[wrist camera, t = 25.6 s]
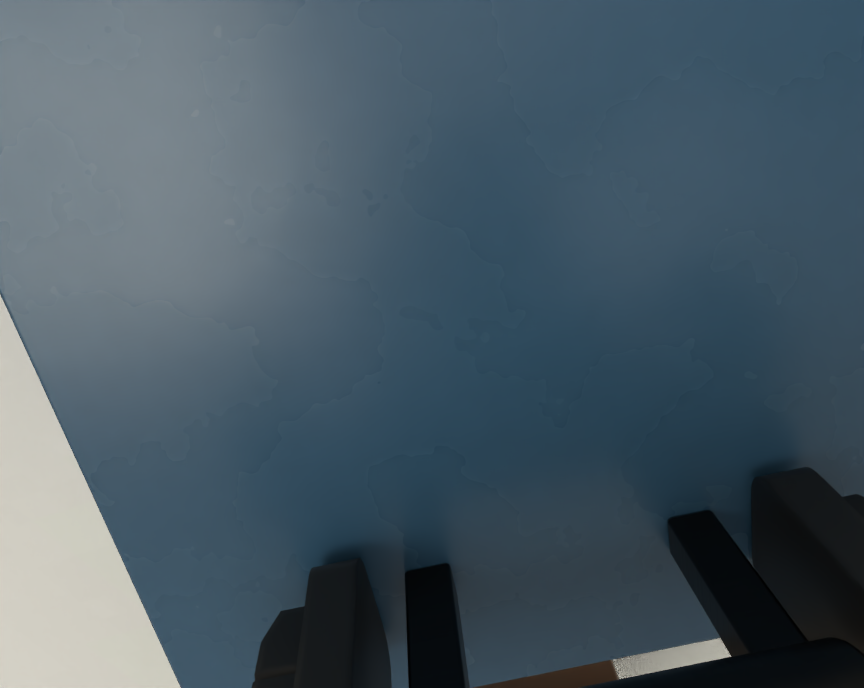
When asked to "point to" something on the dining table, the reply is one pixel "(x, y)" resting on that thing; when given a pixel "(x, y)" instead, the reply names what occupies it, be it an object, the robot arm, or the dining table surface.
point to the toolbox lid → (446, 313)
